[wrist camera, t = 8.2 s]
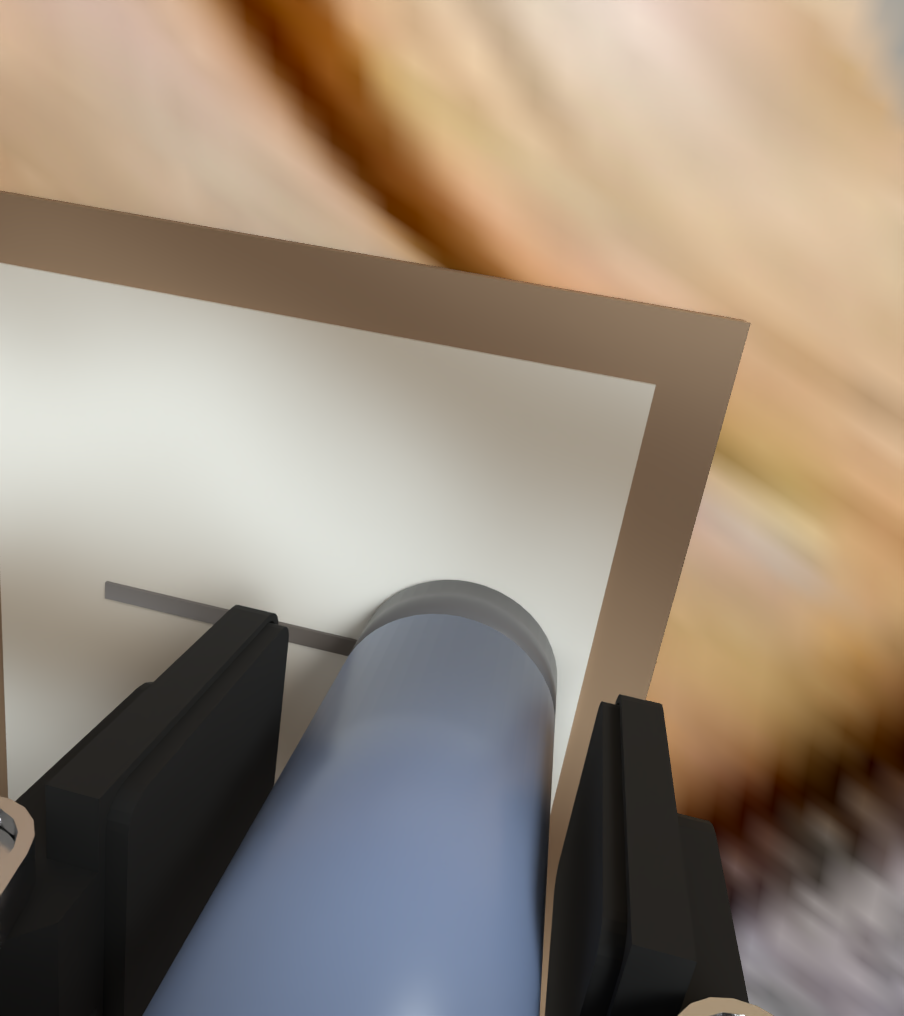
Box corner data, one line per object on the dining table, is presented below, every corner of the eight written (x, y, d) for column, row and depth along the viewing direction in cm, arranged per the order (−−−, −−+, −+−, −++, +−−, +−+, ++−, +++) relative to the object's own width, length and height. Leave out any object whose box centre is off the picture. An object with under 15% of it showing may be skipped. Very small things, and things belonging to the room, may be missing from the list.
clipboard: (525, 1110, 16) (519, 1173, 15) (-4, 949, 18) (-46, 997, 16) (742, 319, 11) (759, 327, 10) (-39, 183, 12) (-104, 176, 11)
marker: (535, 779, 13) (472, 1532, 5) (346, 735, 13) (31, 1387, 6) (576, 603, 12) (571, 1234, 4) (369, 560, 12) (19, 1073, 5)
